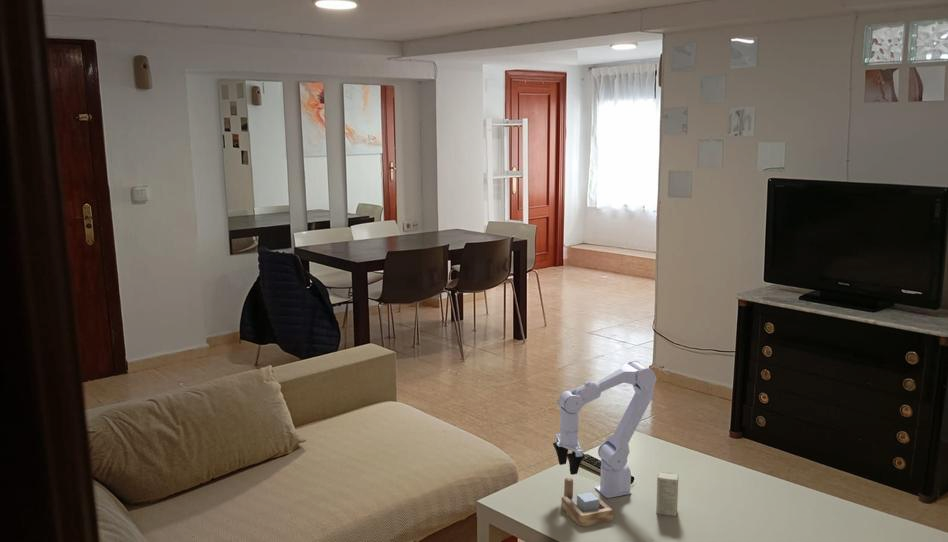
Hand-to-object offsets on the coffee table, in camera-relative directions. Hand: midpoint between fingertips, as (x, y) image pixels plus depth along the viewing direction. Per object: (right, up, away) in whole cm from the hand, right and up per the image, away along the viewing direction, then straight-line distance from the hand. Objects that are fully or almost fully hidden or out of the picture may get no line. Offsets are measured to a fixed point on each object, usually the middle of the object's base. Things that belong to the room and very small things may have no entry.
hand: (568, 468), depth 246 cm
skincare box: (+30, -12, -7) cm, 33 cm away
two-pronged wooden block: (+4, -12, -8) cm, 15 cm away
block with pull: (+3, -11, -4) cm, 12 cm away
